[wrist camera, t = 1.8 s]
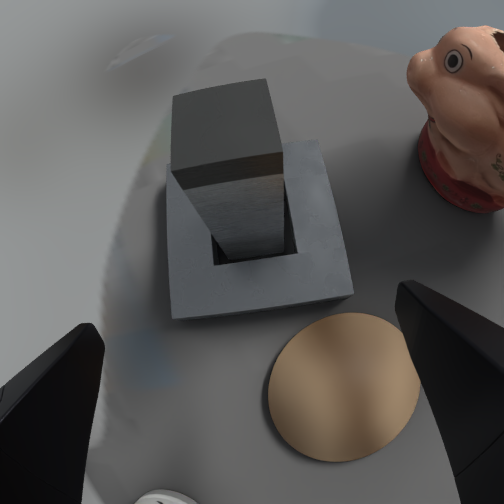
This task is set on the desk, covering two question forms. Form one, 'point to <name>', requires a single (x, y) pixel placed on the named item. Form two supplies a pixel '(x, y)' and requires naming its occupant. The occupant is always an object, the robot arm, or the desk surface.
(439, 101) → the decorative planter
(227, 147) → the grey square bar
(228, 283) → the grey flat square frame
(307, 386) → the walnut coaster
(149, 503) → the travel mug
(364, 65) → the desk surface
